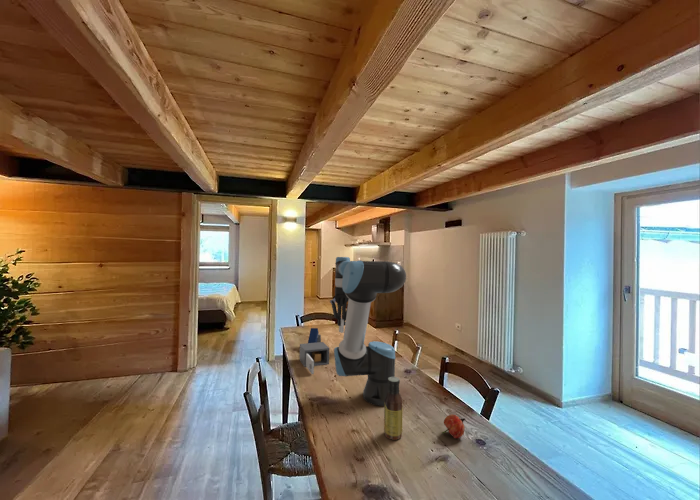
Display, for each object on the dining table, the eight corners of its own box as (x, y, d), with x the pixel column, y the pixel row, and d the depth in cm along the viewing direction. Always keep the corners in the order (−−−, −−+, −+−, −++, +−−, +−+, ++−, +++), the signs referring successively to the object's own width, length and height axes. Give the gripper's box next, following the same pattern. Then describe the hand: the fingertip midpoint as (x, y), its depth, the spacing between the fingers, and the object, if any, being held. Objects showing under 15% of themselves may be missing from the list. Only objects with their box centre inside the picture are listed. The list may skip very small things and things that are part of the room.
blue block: (321, 344, 206) (320, 324, 201) (315, 363, 188) (314, 343, 183) (312, 343, 207) (311, 324, 202) (306, 363, 188) (304, 342, 183)
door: (310, 374, 153) (311, 361, 153) (304, 365, 165) (304, 353, 165) (313, 373, 154) (314, 360, 154) (307, 365, 165) (307, 353, 165)
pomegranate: (446, 448, 103) (472, 434, 101) (433, 427, 105) (458, 413, 103) (448, 438, 110) (472, 425, 108) (435, 418, 112) (459, 405, 110)
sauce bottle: (390, 428, 110) (391, 373, 110) (405, 435, 106) (407, 378, 106) (379, 436, 105) (381, 378, 105) (395, 444, 101) (397, 383, 101)
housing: (329, 364, 170) (329, 348, 170) (304, 367, 165) (304, 350, 165) (322, 357, 181) (323, 341, 181) (299, 359, 176) (299, 344, 176)
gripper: (350, 285, 166) (349, 329, 165) (327, 286, 160) (326, 331, 159) (356, 286, 159) (355, 332, 158) (333, 287, 153) (332, 334, 152)
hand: (341, 332), depth 159 cm, fingers closed
